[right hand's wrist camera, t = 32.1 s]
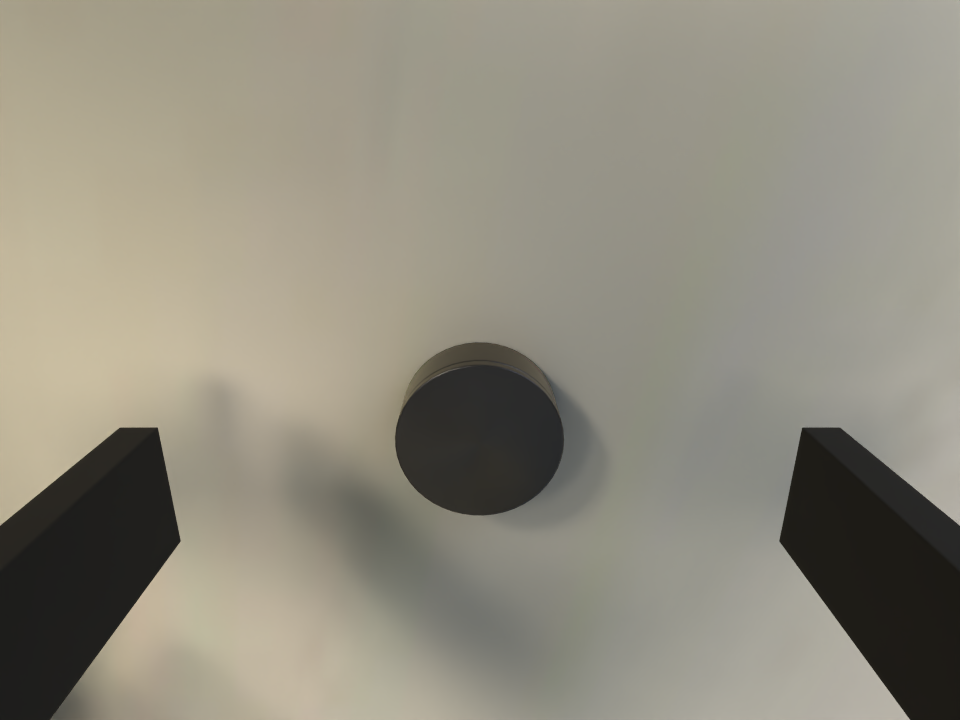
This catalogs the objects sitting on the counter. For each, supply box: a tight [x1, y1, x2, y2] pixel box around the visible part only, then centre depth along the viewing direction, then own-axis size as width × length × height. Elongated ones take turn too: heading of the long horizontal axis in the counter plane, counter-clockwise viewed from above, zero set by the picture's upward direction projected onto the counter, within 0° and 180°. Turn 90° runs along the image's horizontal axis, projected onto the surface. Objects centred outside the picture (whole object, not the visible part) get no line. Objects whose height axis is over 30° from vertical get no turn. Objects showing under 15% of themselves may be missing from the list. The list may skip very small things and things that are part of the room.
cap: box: [395, 343, 564, 515], centre depth 16 cm, size 4×4×2 cm
